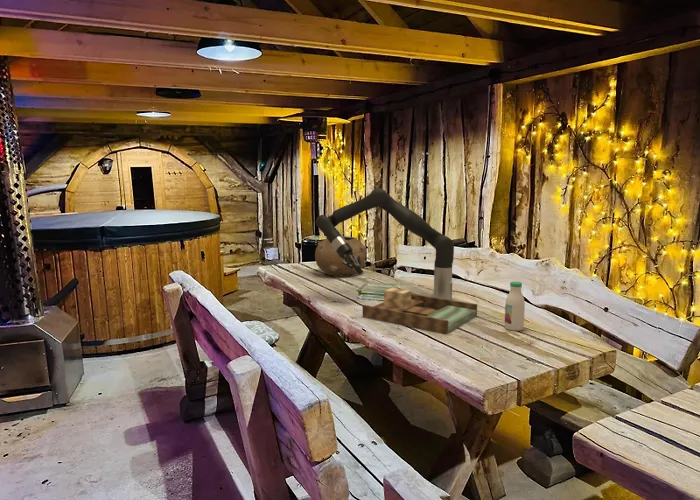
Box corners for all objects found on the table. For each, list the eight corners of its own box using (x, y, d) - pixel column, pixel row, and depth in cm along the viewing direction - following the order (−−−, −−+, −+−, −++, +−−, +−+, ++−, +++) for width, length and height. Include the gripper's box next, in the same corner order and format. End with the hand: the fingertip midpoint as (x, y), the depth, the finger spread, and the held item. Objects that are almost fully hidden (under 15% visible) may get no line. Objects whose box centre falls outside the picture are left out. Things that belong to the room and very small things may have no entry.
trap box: (362, 316, 218) (362, 305, 217) (398, 302, 244) (398, 291, 243) (446, 334, 193) (447, 321, 192) (476, 315, 219) (477, 304, 218)
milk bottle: (523, 326, 203) (525, 281, 200) (523, 332, 195) (526, 284, 192) (504, 324, 205) (506, 279, 202) (504, 330, 198) (506, 283, 195)
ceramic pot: (308, 272, 323) (307, 236, 319) (352, 268, 337) (352, 233, 333) (326, 281, 293) (326, 241, 289) (374, 276, 307) (374, 238, 303)
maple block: (384, 305, 226) (384, 290, 225) (391, 302, 231) (391, 287, 230) (404, 309, 219) (404, 293, 218) (411, 306, 224) (411, 290, 223)
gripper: (337, 243, 234) (358, 270, 228) (353, 240, 244) (373, 266, 239) (329, 253, 237) (349, 280, 232) (345, 250, 248) (364, 275, 243)
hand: (361, 273), depth 235 cm, fingers closed
